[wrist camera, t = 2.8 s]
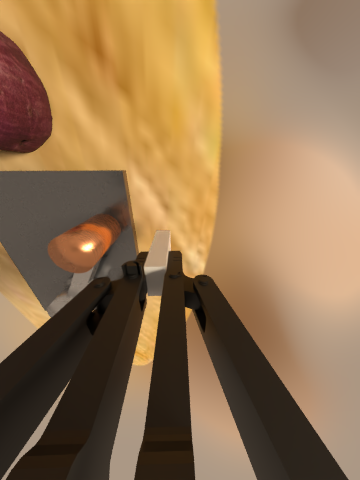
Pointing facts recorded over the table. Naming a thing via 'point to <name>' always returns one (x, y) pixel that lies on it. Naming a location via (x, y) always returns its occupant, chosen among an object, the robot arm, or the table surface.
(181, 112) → the table surface
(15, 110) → the vegetable
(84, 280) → the lever
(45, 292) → the base
